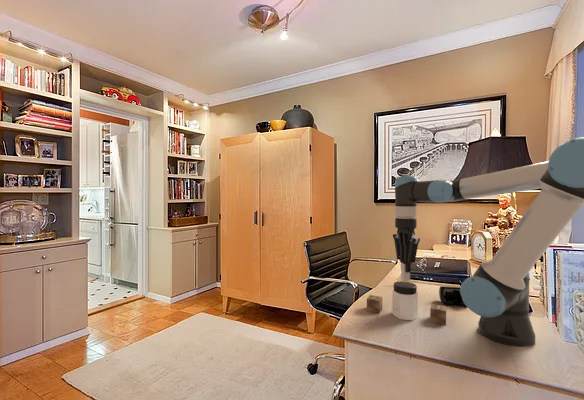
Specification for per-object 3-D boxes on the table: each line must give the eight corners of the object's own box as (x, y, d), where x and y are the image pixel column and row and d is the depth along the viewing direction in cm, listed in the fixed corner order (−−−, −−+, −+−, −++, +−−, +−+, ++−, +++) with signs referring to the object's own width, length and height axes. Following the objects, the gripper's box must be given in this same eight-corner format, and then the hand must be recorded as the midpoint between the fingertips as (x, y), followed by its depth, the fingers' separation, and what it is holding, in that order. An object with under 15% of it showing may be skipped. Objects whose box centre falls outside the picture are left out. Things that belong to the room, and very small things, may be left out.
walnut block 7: (382, 309, 118) (382, 296, 118) (379, 313, 114) (379, 300, 114) (369, 307, 121) (369, 294, 120) (366, 311, 116) (366, 298, 116)
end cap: (464, 301, 127) (464, 285, 127) (470, 307, 120) (470, 291, 120) (438, 299, 129) (439, 284, 129) (443, 305, 122) (443, 289, 122)
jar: (388, 312, 115) (388, 282, 115) (405, 310, 117) (406, 280, 117) (403, 322, 106) (403, 289, 106) (422, 319, 109) (422, 287, 108)
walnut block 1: (446, 319, 108) (446, 305, 108) (445, 325, 104) (446, 310, 104) (431, 317, 111) (431, 303, 111) (430, 322, 107) (430, 308, 106)
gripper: (426, 218, 106) (426, 284, 106) (403, 216, 118) (403, 274, 119) (408, 219, 103) (408, 286, 104) (386, 216, 116) (386, 276, 116)
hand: (405, 280), depth 111 cm, fingers closed
